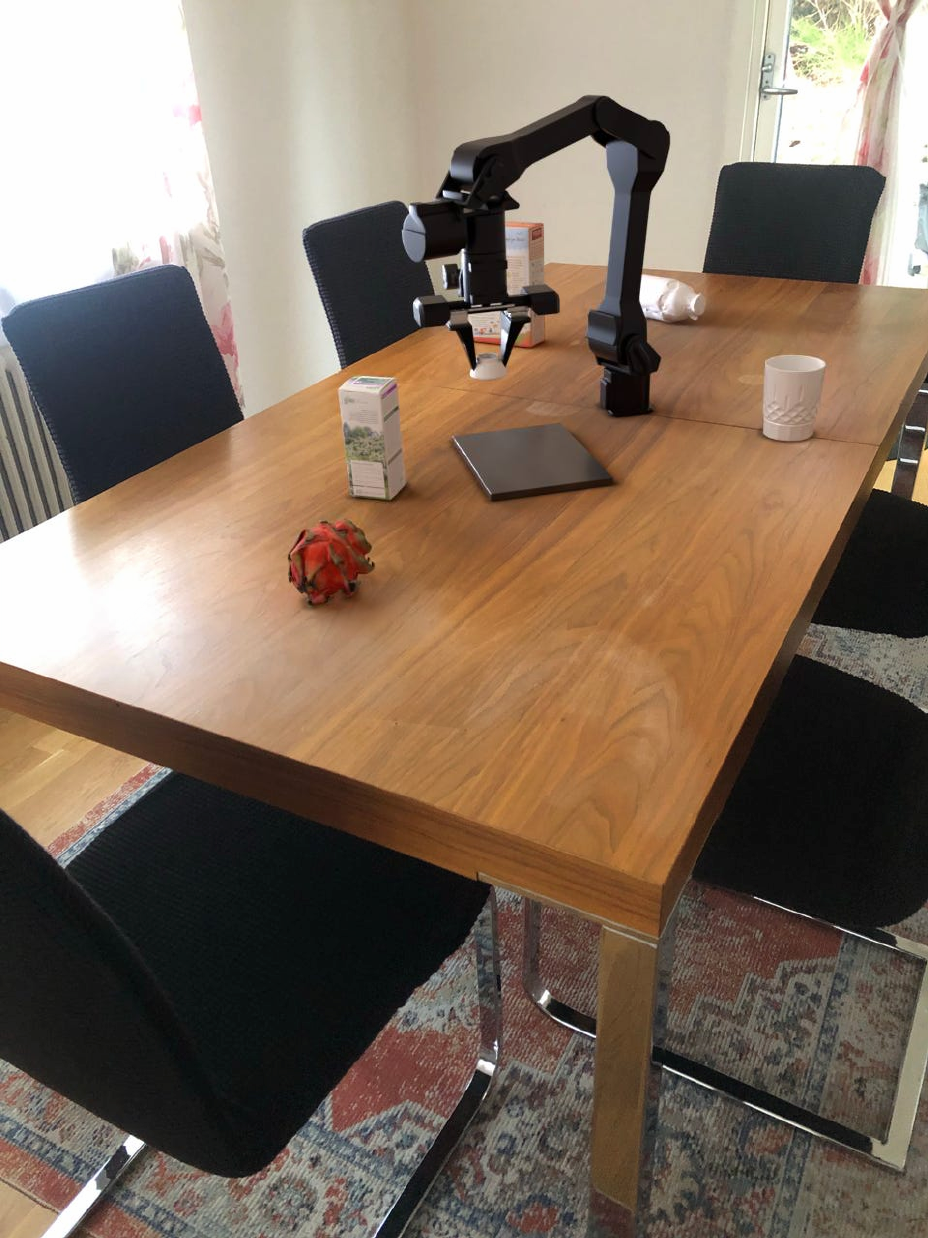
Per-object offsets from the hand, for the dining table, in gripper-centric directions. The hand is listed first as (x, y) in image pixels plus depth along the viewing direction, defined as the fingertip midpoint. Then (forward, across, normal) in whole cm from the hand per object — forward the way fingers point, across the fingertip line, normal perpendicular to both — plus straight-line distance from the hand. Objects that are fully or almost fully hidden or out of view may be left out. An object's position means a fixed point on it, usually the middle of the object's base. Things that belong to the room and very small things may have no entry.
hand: (488, 369), depth 141 cm
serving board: (+11, -3, +8) cm, 14 cm away
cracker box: (+11, -15, -52) cm, 56 cm away
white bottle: (+11, -47, -57) cm, 75 cm away
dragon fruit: (+11, +26, +38) cm, 47 cm away
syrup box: (+11, +18, +11) cm, 24 cm away
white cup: (+11, -40, +9) cm, 43 cm away
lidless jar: (+1, 0, 0) cm, 1 cm away
